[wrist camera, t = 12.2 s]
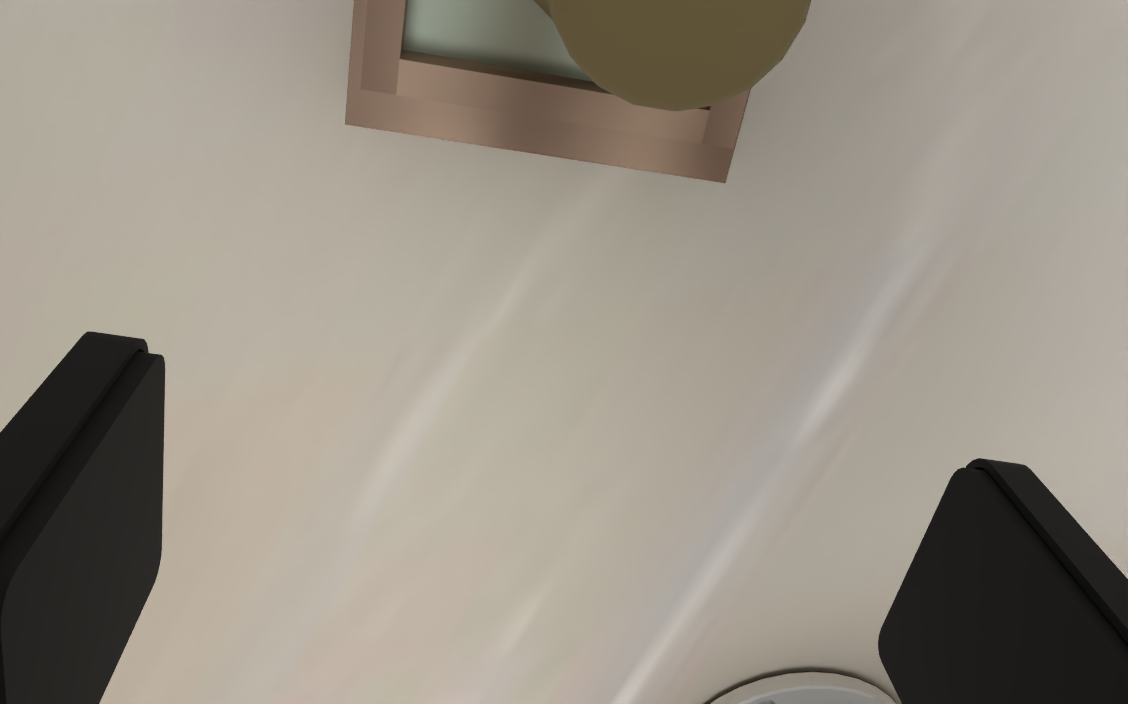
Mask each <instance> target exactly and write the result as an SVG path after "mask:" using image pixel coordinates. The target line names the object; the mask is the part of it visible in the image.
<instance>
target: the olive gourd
mask: <svg viewBox="0 0 1128 704" xmlns="http://www.w3.org/2000/svg"><path fill="white" fill-rule="evenodd" d="M534 1H535V2H536V3H537V4H538V5H539V6H540V7H541V8H542V10H543V11H544V12H545V13H546V14H547V15H548V16H549V17H550V18H551V19H552V20H553V21H554V24H555V26H556V28H557V30H558V32H559V34H560V36H561V38H562V40H563V43H564V45H565V47H566V49H567V51H568V53H569V55H570V57H571V58H572V59H573V60H574V61H575V62H576V63H577V64H578V66H579V67H580V68H581V69H582V70H583V71H584V72H585V73H586V74H587V75H588V76H589V77H590V78H591V79H592V80H593V81H594V82H595V84H596V85H597V86H599V87H600V88H602V89H604V90H606V91H608V92H610V93H612V94H614V95H616V96H617V97H619V98H621V99H623V100H625V101H627V102H629V103H631V104H633V105H638V106H644V107H650V108H656V109H662V110H669V111H683V110H689V109H695V108H702V107H708V106H714V105H717V104H719V103H721V102H723V101H725V100H727V99H729V98H731V97H733V96H735V95H737V94H739V93H741V92H743V91H746V90H748V89H750V88H752V87H753V86H754V85H755V84H756V83H757V82H758V81H759V80H760V79H761V78H762V77H764V76H765V75H766V74H767V73H768V72H769V71H770V70H771V69H772V68H773V67H774V66H775V65H777V64H778V63H779V62H780V61H781V60H782V59H783V57H784V56H785V54H786V52H787V51H788V49H789V47H790V46H791V44H792V43H793V41H794V39H795V38H796V36H797V34H798V33H799V31H800V30H801V28H802V26H803V25H804V23H805V20H806V17H807V13H808V10H809V6H810V3H811V0H534Z"/></svg>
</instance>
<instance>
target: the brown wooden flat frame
mask: <svg viewBox="0 0 1128 704" xmlns="http://www.w3.org/2000/svg"><path fill="white" fill-rule="evenodd" d="M750 89H751V88H750ZM750 89H748V90H746V91H743V92H741V93H739V94H737V95H735V96H733V97H731V98H729V99H727V100H725V101H723V102H721V103H719V104H717V105H714V106H708V107H702V108H695V109H689V110H683V111H669V110H662V109H656V108H650V107H644V106H638V105H633V104H631V103H629V102H627V101H625V100H623V99H621V98H619V97H617V96H616V95H614V94H612V93H610V92H608V91H606V90H604V89H602V88H600V87H599V86H597V85H596V84H595V82H594V81H593V80H592V79H591V78H590V77H589V76H588V75H587V74H586V73H585V72H584V71H583V70H582V69H581V68H580V67H579V66H578V64H577V63H576V62H575V61H574V60H573V59H572V58H571V57H570V55H569V53H568V51H567V49H566V47H565V45H564V43H563V40H562V38H561V36H560V34H559V32H558V30H557V28H556V26H555V24H554V21H553V20H552V19H551V18H550V17H549V16H548V15H547V14H546V13H545V12H544V11H543V10H542V8H541V7H540V6H539V5H538V4H537V3H536V2H535V1H534V0H354V10H353V23H352V37H351V50H350V64H349V77H348V91H347V104H346V118H345V124H346V125H353V126H359V127H366V128H372V129H378V130H385V131H391V132H398V133H404V134H411V135H417V136H424V137H430V138H437V139H443V140H450V141H456V142H463V143H469V144H476V145H482V146H489V147H495V148H501V149H508V150H514V151H521V152H527V153H534V154H540V155H547V156H553V157H560V158H566V159H573V160H579V161H586V162H592V163H599V164H605V165H612V166H618V167H624V168H631V169H637V170H644V171H650V172H657V173H663V174H670V175H676V176H683V177H689V178H696V179H702V180H709V181H715V182H722V183H725V182H726V178H727V175H728V171H729V167H730V164H731V160H732V156H733V152H734V149H735V145H736V141H737V138H738V134H739V130H740V126H741V123H742V119H743V115H744V112H745V108H746V104H747V100H748V97H749V93H750Z"/></svg>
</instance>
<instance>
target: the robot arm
mask: <svg viewBox="0 0 1128 704" xmlns="http://www.w3.org/2000/svg"><path fill="white" fill-rule="evenodd" d="M164 400H165V362H164V357H163V356H162V355H158V354H151V353H148V347H147V343H146V341H145V340H144V339H139V338H132V337H125V336H118V335H111V334H104V333H97V332H86V333H85V334H84V335H83V336H82V337H81V338H80V339H79V341H78V342H77V343H76V344H75V345H74V346H73V348H72V349H71V350H70V351H69V352H68V354H67V355H66V356H65V357H64V358H63V359H62V361H61V362H60V363H59V364H58V365H57V366H56V368H55V369H54V370H53V371H52V372H51V374H50V375H49V376H48V377H47V378H46V379H45V381H44V382H43V383H42V384H41V385H40V387H39V388H38V389H37V390H36V391H35V392H34V394H33V395H32V396H31V397H30V398H29V399H28V401H27V402H26V403H25V404H24V405H23V407H22V408H21V409H20V410H19V411H18V412H17V414H16V415H15V416H14V417H13V418H12V420H11V421H10V422H9V423H8V424H7V425H6V427H5V428H4V429H3V430H2V431H1V432H0V704H99V703H100V700H101V698H102V696H103V694H104V692H105V690H106V687H107V685H108V683H109V681H110V679H111V677H112V674H113V672H114V670H115V668H116V666H117V664H118V661H119V659H120V657H121V655H122V653H123V651H124V648H125V646H126V644H127V642H128V640H129V637H130V635H131V633H132V631H133V629H134V627H135V624H136V622H137V620H138V618H139V616H140V614H141V611H142V609H143V607H144V605H145V603H146V601H147V598H148V596H149V594H150V592H151V590H152V588H153V585H154V583H155V580H156V577H157V574H158V570H159V565H160V560H161V550H162V504H163V452H164ZM878 649H879V655H880V659H881V661H882V664H883V666H884V668H885V670H886V672H887V674H888V676H889V678H890V680H891V682H892V684H893V686H894V688H895V690H896V692H897V694H898V696H899V698H900V700H901V703H902V704H1128V579H1127V578H1126V577H1125V576H1124V575H1123V573H1122V572H1121V571H1120V570H1119V569H1118V568H1117V567H1116V565H1115V564H1114V563H1113V562H1112V561H1111V560H1110V559H1109V558H1108V556H1107V555H1106V554H1105V553H1104V552H1103V551H1102V550H1101V549H1100V547H1099V546H1098V545H1097V544H1096V543H1095V542H1094V541H1093V539H1092V538H1091V537H1090V536H1089V535H1088V534H1087V533H1086V532H1085V530H1084V529H1083V528H1082V527H1081V526H1080V525H1079V524H1078V523H1077V521H1076V520H1075V519H1074V518H1073V517H1072V516H1071V515H1070V513H1069V512H1068V511H1067V510H1066V509H1065V508H1064V507H1063V506H1062V504H1061V503H1060V502H1059V501H1058V500H1057V499H1056V498H1055V497H1054V495H1053V494H1052V493H1051V492H1050V491H1049V490H1048V489H1047V487H1046V486H1045V485H1044V484H1043V483H1042V482H1041V481H1040V480H1039V478H1038V477H1037V476H1036V475H1035V474H1034V473H1033V472H1032V470H1030V469H1029V468H1028V467H1027V466H1025V465H1021V464H1016V463H1009V462H1002V461H995V460H988V459H981V458H978V459H975V460H973V461H971V462H970V463H969V464H968V465H967V466H966V468H960V469H958V470H957V471H956V472H955V473H954V474H953V476H952V477H951V479H950V481H949V483H948V485H947V488H946V490H945V492H944V494H943V496H942V498H941V500H940V503H939V505H938V507H937V509H936V511H935V513H934V516H933V518H932V520H931V522H930V524H929V526H928V529H927V531H926V533H925V535H924V537H923V539H922V541H921V544H920V546H919V548H918V550H917V552H916V554H915V557H914V559H913V561H912V563H911V565H910V567H909V569H908V572H907V574H906V576H905V578H904V580H903V582H902V585H901V587H900V589H899V591H898V593H897V595H896V597H895V600H894V602H893V604H892V606H891V608H890V610H889V613H888V615H887V617H886V619H885V621H884V623H883V625H882V628H881V631H880V634H879V640H878ZM711 704H896V703H895V702H894V701H893V699H892V698H891V697H889V696H888V695H887V694H885V693H884V692H883V691H881V690H880V689H878V688H877V687H875V686H873V685H871V684H868V683H866V682H864V681H862V680H859V679H856V678H852V677H848V676H844V675H839V674H832V673H819V672H805V673H790V674H784V675H779V676H774V677H769V678H764V679H761V680H758V681H755V682H752V683H750V684H747V685H744V686H741V687H739V688H737V689H735V690H733V691H731V692H729V693H727V694H725V695H723V696H721V697H719V698H718V699H716V700H715V701H713V702H712V703H711Z"/></svg>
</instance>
